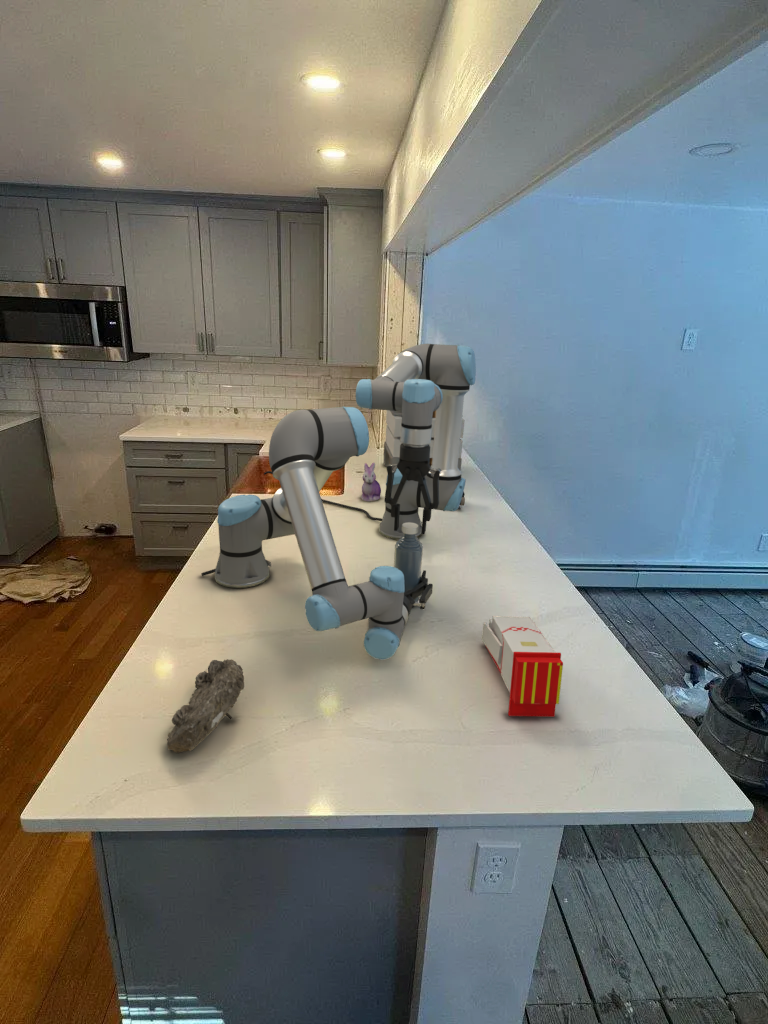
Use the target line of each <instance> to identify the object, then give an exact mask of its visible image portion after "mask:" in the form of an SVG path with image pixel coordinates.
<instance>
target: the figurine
mask: <svg viewBox="0 0 768 1024" xmlns="http://www.w3.org/2000/svg"><path fill="white" fill-rule="evenodd" d="M363 468H364V470H363V471H364V472H363V474H362V481H363V483H362V485H361V496H360V498H361V500H362V501H364V502H373V501H377V500H380V499H381V495H382V487H381V484H380V482H379V481H378V480H376V479H377V476H376V473H375V468H376V462H372V463H371V465H370V466H369V464H367V462H365V463H364V464H363Z"/></svg>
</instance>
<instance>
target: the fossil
mask: <svg viewBox="0 0 768 1024" xmlns="http://www.w3.org/2000/svg"><path fill="white" fill-rule="evenodd" d="M243 670H244V669H243V667H242V665H240V664H237V662H236V661H235V660H234V659H232V658H231V659H227V658H226V659H224V660H223V661H222V660H217V659H212V660H211V661H210V663H209V665H208V666H207V671H201V672H199V673H198V674H197V675H196V676H195V680H194V684H195V685H194V687H195V689H194V690H193V693H192V694H191V697H190V698H189V700H188V704H184V705H182V706H181V707H180V709H177V710H176V711H175V713H174V715H173V716H172V718H171V723H172V724H173V727H172V730H171V731H170V732H168V734H167V738H166V741H167V742H166V745H167V749H168V750H169V751H173V752H174V753H176V754H178V753H182V752H188V751H189V752H192V751H193V750H195V748H196V747H197V746H199V744H200V743H201V742H203V741H204V740H205V739H206V738H207V737H208V736H209V735H210V734H211V733H212V732H214V730H215V729H217V727H218V726H219V724H220V722H221V721H222V720H223V719H224V718H225V716H226V717H227V719H229V720H233V717H232V715H230V714H229V710H230V709H231V708H234V706H235V704H236V703H237V702H238V699H239V697H240V695H241V693H242V691H243V690H245V689H244V688H245V675H244V671H243Z"/></svg>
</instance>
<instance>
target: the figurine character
mask: <svg viewBox="0 0 768 1024" xmlns="http://www.w3.org/2000/svg"><path fill="white" fill-rule="evenodd" d="M465 503H466V498H465V490H464V491H463V495H462V499H461V502H460V505H459V507H458V509H457V510H462V509H461V507H464V506H465V505H466V504H465Z"/></svg>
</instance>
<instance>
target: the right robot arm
mask: <svg viewBox="0 0 768 1024" xmlns="http://www.w3.org/2000/svg"><path fill="white" fill-rule="evenodd" d="M476 365H477V364H476V355H475V351H474V349H473V348H472V347H470V346H466V345H460V344H440V343H439V344H438V343H419V344H416V345H413V346H410V347H408V348H405V349H404V350H402V351H400V352H399V353H398V354H397V355H395V356H394V358H393V360H392V363H391V364H390V365H389V366H388V367H386V369H385V370H383V371H382V372H381V373H380V374H379V375H377V376H376V377H375V378H374V379H371V378H367V379H366V378H363V379H360V380H359V381H358V382H357V384H356V388H355V402H356V405H357V406H358V407H359V408H363V409H369V410H380V411H387V410H390V411H401V412H402V423H401V437H400V441H401V442H402V444H401V445H400V457H399V462H398V463H397V464H393V465H392V464H389V465H388V466H386V472H387V475H386V482H385V493H384V500H383V501H384V503H385V504H384V505H385V507H384V508H385V509H384V513H383V515H382V517H381V518H380V517H373V516H371V515H370V513H369V512H368V511H367V510H366V509H363V508H359V507H355V506H352V505H348V504H342V503H338V502H334V501H330V500H327V499H324V498H321V500H322V503H324V504H329V505H333V506H337V507H341V508H344V509H349V510H352V511H358V512H361V513H364V514H365V515H366V517H367V518H368V519H370V520H372V521H378V522H379V527H378V533H379V534H380V535H381V536H382V537H385V538H387V539H389V540H395V541H398V540H399V539H400V538H401V537H402V536H403V535H404V533H403V532H402V524H403V523H408V522H411V523H416V524H418V527H419V528H418V533H416V534H415V536H417V538H418V539H419V538H420V537H421V536H422V535H425V534H426V531H427V522H430V521H431V520H432V510H436V511H443V512H456V511H457V510H459V509H458V507H459V506H461V505H460V502H461V499H462V495H463V491H464V492H465V486H466V479H465V478H464V477H462V470H461V471H460V470H459V469H458V456H459V445H460V439H461V438H460V434H461V423H462V419H463V414H464V413H463V410H464V402H465V401H464V400H465V395H467V393H468V392H470V388H471V386H474V385H475V383H476V376H477V373H476V372H477V366H476ZM434 411H436V419H435V432H434V445H433V458H432V465H430V462H429V460H430V446H429V445H428V444H430V443H431V431H432V416H433V412H434ZM268 474H271V475H273V474H272V471H271V470H266V471H265V472H263V475H268ZM419 508H422V520H421V518H420V515H419Z"/></svg>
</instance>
